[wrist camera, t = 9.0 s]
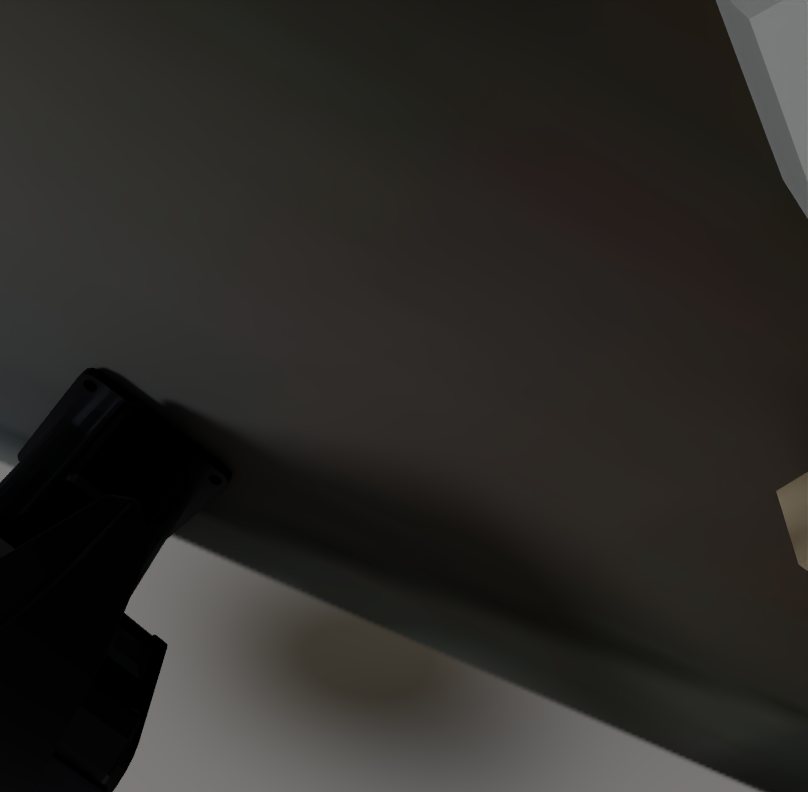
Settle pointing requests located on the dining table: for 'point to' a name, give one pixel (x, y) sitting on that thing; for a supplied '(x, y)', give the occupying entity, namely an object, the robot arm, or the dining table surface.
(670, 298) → the dining table surface
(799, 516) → the oak slab
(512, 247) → the dining table surface
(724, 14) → the grey cube
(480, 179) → the dining table surface
